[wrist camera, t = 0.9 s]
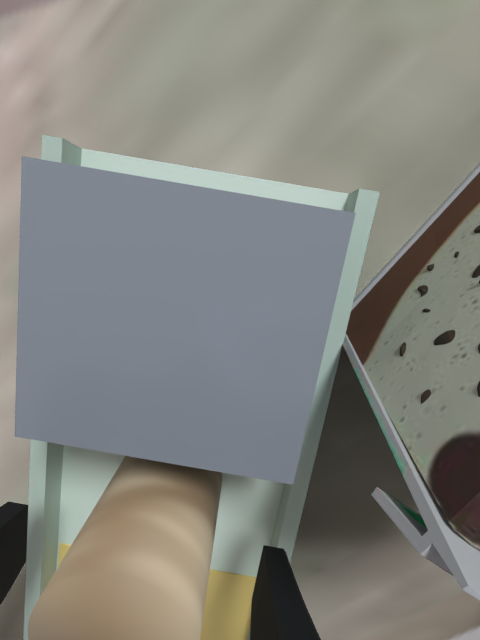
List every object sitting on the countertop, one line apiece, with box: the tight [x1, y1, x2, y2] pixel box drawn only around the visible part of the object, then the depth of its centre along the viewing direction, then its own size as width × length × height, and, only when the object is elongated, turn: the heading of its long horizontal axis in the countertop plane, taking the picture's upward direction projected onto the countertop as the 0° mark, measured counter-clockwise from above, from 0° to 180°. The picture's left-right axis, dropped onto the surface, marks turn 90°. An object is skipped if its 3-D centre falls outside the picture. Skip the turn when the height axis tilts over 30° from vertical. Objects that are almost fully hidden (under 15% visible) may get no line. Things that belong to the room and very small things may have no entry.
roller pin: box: [28, 456, 222, 640], centre depth 11 cm, size 4×4×6 cm
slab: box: [15, 156, 356, 485], centre depth 11 cm, size 8×7×4 cm
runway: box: [23, 135, 380, 640], centre depth 14 cm, size 10×20×2 cm, turn 171°
